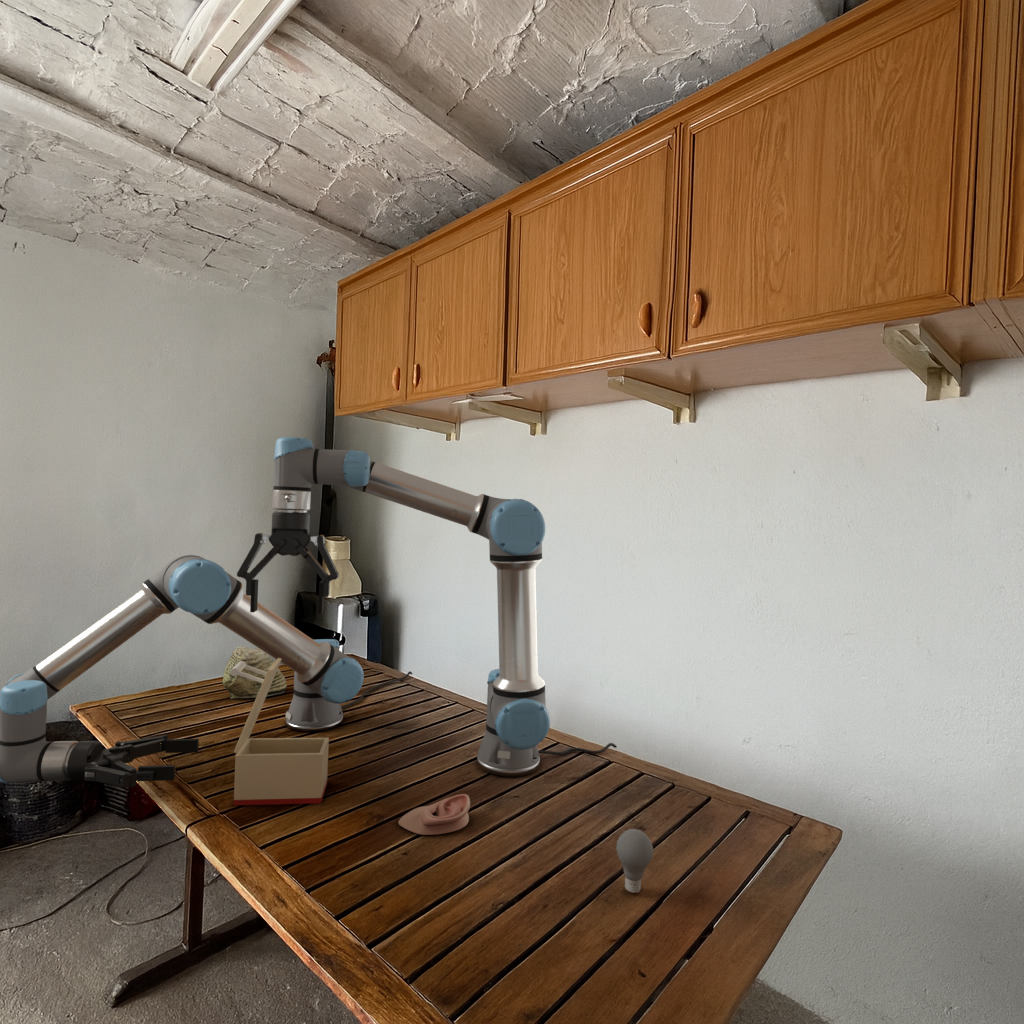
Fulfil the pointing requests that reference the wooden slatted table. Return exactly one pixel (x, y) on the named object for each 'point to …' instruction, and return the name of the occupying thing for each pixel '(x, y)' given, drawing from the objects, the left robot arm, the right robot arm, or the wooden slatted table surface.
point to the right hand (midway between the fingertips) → (287, 612)
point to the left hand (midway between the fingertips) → (186, 758)
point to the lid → (259, 699)
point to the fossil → (248, 687)
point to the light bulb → (634, 857)
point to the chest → (281, 771)
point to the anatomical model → (438, 816)
